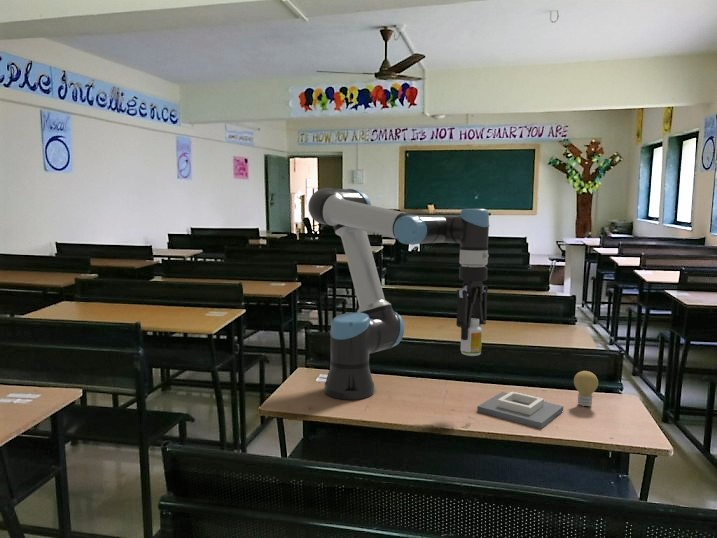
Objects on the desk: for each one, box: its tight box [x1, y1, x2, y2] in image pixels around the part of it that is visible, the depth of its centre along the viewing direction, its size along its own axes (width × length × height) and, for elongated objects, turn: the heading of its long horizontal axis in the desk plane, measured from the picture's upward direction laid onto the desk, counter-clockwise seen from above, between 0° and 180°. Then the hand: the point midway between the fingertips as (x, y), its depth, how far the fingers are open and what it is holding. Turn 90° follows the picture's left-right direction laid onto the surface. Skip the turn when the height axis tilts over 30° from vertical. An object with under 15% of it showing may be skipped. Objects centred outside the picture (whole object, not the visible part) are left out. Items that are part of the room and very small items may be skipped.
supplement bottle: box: [460, 317, 483, 357], centre depth 148 cm, size 5×5×10 cm
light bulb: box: [573, 370, 599, 407], centre depth 154 cm, size 6×6×10 cm
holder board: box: [476, 391, 564, 430], centre depth 148 cm, size 18×16×4 cm
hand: (471, 348), depth 149 cm, fingers closed on supplement bottle, 5 cm apart
